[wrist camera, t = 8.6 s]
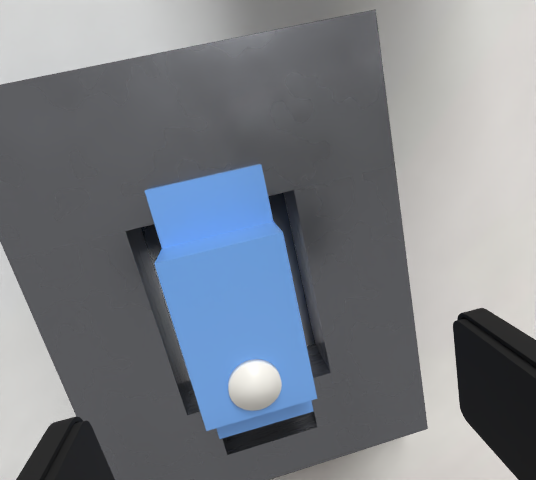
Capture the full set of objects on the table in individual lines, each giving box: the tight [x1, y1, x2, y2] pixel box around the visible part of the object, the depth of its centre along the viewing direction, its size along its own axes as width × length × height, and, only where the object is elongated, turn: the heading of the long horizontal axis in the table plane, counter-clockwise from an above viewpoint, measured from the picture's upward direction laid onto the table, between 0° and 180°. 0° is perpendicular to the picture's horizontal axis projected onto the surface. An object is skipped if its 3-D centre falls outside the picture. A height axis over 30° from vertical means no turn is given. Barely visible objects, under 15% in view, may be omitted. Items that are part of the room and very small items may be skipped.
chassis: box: [0, 10, 428, 480], centre depth 17 cm, size 16×20×3 cm
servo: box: [145, 164, 317, 439], centre depth 16 cm, size 4×12×6 cm, turn 12°
